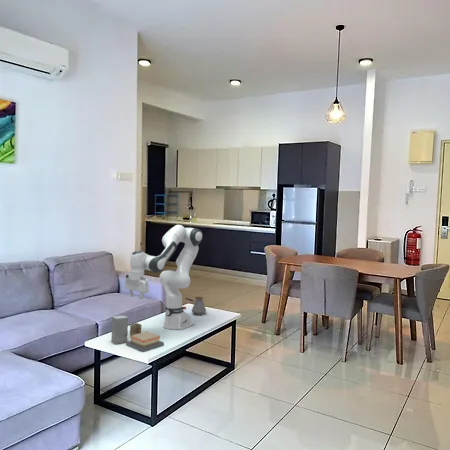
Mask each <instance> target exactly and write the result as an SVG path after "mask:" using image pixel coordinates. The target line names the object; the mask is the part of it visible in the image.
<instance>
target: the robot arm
mask: <svg viewBox="0 0 450 450" xmlns="http://www.w3.org/2000/svg"><path fill="white" fill-rule="evenodd" d="M203 237H204V235H203V232H202V230H201V229H199V228H194V227H185V226H183V225H182V224H176V225H174V226H173V227H171V228H170V229H168V231H167V232H166V233H165V234H164V235H163V236H162V239H161V242H162V245H163V246H164V249H163V251H162V252H161V253H160V254H159V255H157V256H155V255H150V254H148V253H145V252H144V251H143V250H135V251H133V252H131V254H130V261H129V263H130V264H129V266H130V270H129V273H126V274H124V278H125V279H124V287H125V289H126V290H128V291H129V296H130V298H131V297H134V296H135V294H134V292H137V293H139V294H140V295H139V296H138V299H139V300H143V299H144V295H145V294H147V293H149V292H150V291H149V290H150V289H149V288H150V287H149V280H148V279H147V278H145V270H147V271H148V272H149V271H150V272H152V273H156V274H157V273H158V274H159V273H160V274H159V281H160V283H161V285H162V286H163V289H164V291H165V299H166V300H165V309H164V310H165V316H164V322H163V325H162V326H163V328H164V329H166V330H167V329H168V330H185V329H187V328H190V327H191V326H193V325H195V323H194V322H193V321H191V316H190V314H188V313H187V312H185V310H187V307H186V306H183V295H182V293H181V292H180V291H179V290H180V289H181V290H182V289H187V288H189V286H190V284H191V277H190V269H191V267H192V265H193V263H194V261H195V259H196V257H197V255H198V252H199V245H200V244H201V242H202V240H203ZM179 243H184V247H183V248H182V250H181V251H180V253H179V255H178V257H177V258H176V260H175V265H176V266H177V268H176V270H171V269H168V270H164V268H165V267H166V265H167V262H168V261H169V260H170V259H171V257H172V256H173V255H174V253H175V252H176V250H177V248H178V245H179Z"/></svg>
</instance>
